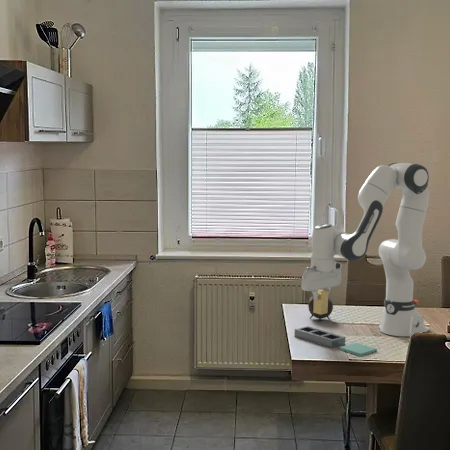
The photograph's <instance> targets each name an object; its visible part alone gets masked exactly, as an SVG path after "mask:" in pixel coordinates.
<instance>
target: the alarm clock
mask: <svg viewBox="0 0 450 450" xmlns="http://www.w3.org/2000/svg"><path fill="white" fill-rule="evenodd" d="M323 290H325V288H323ZM307 305H308V306H307V307H308V311H309V313H310V316H309V320H310V319H312V318H313V317H314V318H316V319H318V320H319V322H320V321H321V320H322V319H326V318H327V319H328V321H331V320H330V317H329V316H330V315H331V314H332V312H333V309H334V305H333V301H332V298H331V297H330V296H329V295H328V313H326V314H321V315H320V314H317V313H313V308H314V296H313V295H311V296H310V298H309V300H308V303H307Z"/></svg>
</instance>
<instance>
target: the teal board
mask: <svg viewBox="0 0 450 450" xmlns="http://www.w3.org/2000/svg"><path fill="white" fill-rule="evenodd" d="M342 350H343V352H345V351H346V352H345V353H348V352H349V354H351V353H352V354H351V355H354V354H355V355H356V356H358V357H362V355H363V356H366V355H369V353H370V354H373V353H376V352H378V349H377V348H375V347H371V346H368V345H365V344H362V343H360V342H353V343H350V344H345V345H342V346H339V351H342ZM375 351H376V352H375ZM372 352H373V353H372ZM365 354H366V355H365Z"/></svg>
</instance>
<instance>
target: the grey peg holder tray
mask: <svg viewBox="0 0 450 450" xmlns="http://www.w3.org/2000/svg"><path fill="white" fill-rule="evenodd" d="M295 337H296V338H298V339H301V340H304V341H308V342H310V343H315V344H317V345H321V346H324V347H326V348H330V349H334V347H335V348H338V347H342V346H346V336H343V335H340V334H335V333H332V332H329V331H327V330H326V331H325V330H322V329H319V328H315V327H314V326H309V325H307V326H303V327H299V328H294V338H295ZM341 345H342V346H341Z"/></svg>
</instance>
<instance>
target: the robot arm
mask: <svg viewBox="0 0 450 450" xmlns="http://www.w3.org/2000/svg"><path fill="white" fill-rule="evenodd" d="M429 179H430V175H429V171H428V169H427V168H426V167H425V166H423V165H422V164H419V163H412V162H393V163H389V164H387V165H386V164H381V165H378V166H377V167H375V169H374V170H372V172H371V173H370V175H369V176H368V177H367V179H366V180H365V181H364V183H363V184H362V186H361V188H360V189H359V192H358V195H357V201H358V204H359V206H360V207H361V208H362V210H363V216H362V218H361V220H360V222H359V224H358V226H357V228H356V230H355V231H354V232H353V233H351V234H350V233H348V232H346V231H345V232H344V231H342V230H340V229H338V228H336V227H334V225H332V224H328V223H325V224H318V225H317V226H315V227H314V229H313V230H312V235H311V251H312V252H311V257H310V266H307V267H306V268H305V269H304V270H303V274H302V277H301V284H300V285H301V286H300V287H301V290H303V291H305V292H311V293H312V296H314V300H319V296H318V294H317V292H318V290H320V289H321V290H324V289H325V290H326V291H328V295H329V294H330V292H331V288H334V287H338V286H341V284H342V270H341V269H342V267H343V264H342V263H341V262H339V261H336V260H334V258H335V256H338V257H341V258H344V259H346V260H348V261H351V262H358V261H360V260H362V259H363V258H364V257H365V256H366V254H367V252H368V249H369V248H368V247H369V243H370V240H371V238H372V235H373V234H374V232H375V230H376V227H377V226H378V224H379V222H380V219H381V217H382V213H383V211H384V206H385V203H386V201H387V199H388V198H389V196H390V195H391V194H392V193H391V192H392V191H393V190H394V189H398V190H401V191H402V198H401V201H400V204H399V207H398V208H399V209H398V212H397V216H396V220H395V228H396V230H397V239H395V238H394V239H386V240H383V241H382V242H381V243H380V245H379V247H378V255H379V258H380V259H381V262H382V264H383V265H382V266H383V270H384V273H385V281H386V283H385V298H384V301H383V306H384V308H383V309H382V313H381V320H380V324H378V328H379V329H380V330H379V331H380V332H381V333H382V334H386V335H388V336H389V335H390V336H393V337H410V336H411V335H412V334H413V333H416V332H425V333H427V332H428V331H430V327H428V326H426V325H424V324H425V319H424V316H423V315H422V314H421V313H420V312H419V311H418V310H417V309H416V305H419V303H420V301H419V300H418V299H413V298H414V279H413V278H412V277H411V274H410V271H415V270H416V271H417V270H419V269H421V268H423V266H424V265H425V263H426V261H427V254H426V251H425V250H424V248H423V229H424V228H423V227H424V224H425V221H426V216H427V212H428V211H427V210H428V206H429V200H430V189H429V188H428V185H429ZM410 338H411V337H410Z"/></svg>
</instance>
